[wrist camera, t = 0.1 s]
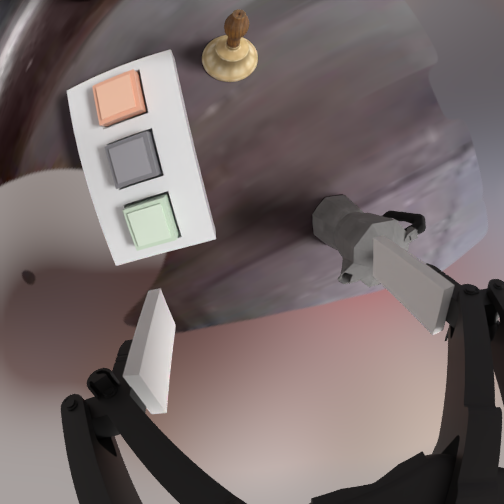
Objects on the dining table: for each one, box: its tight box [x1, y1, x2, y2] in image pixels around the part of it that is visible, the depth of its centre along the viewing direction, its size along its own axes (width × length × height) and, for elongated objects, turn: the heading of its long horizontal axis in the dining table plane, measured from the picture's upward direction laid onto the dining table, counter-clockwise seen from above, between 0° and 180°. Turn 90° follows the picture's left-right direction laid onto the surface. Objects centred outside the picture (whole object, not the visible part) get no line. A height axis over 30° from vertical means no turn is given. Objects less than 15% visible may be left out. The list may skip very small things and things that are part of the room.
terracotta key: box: [92, 69, 147, 126], centre depth 28 cm, size 6×6×3 cm
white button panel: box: [67, 49, 216, 266], centre depth 35 cm, size 28×16×5 cm, turn 12°
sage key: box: [123, 194, 179, 251], centre depth 36 cm, size 6×6×3 cm
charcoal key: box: [105, 131, 162, 189], centre depth 32 cm, size 6×6×3 cm
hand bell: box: [202, 10, 258, 82], centre depth 25 cm, size 8×8×16 cm
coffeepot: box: [312, 195, 426, 287], centre depth 37 cm, size 15×9×18 cm, turn 120°
